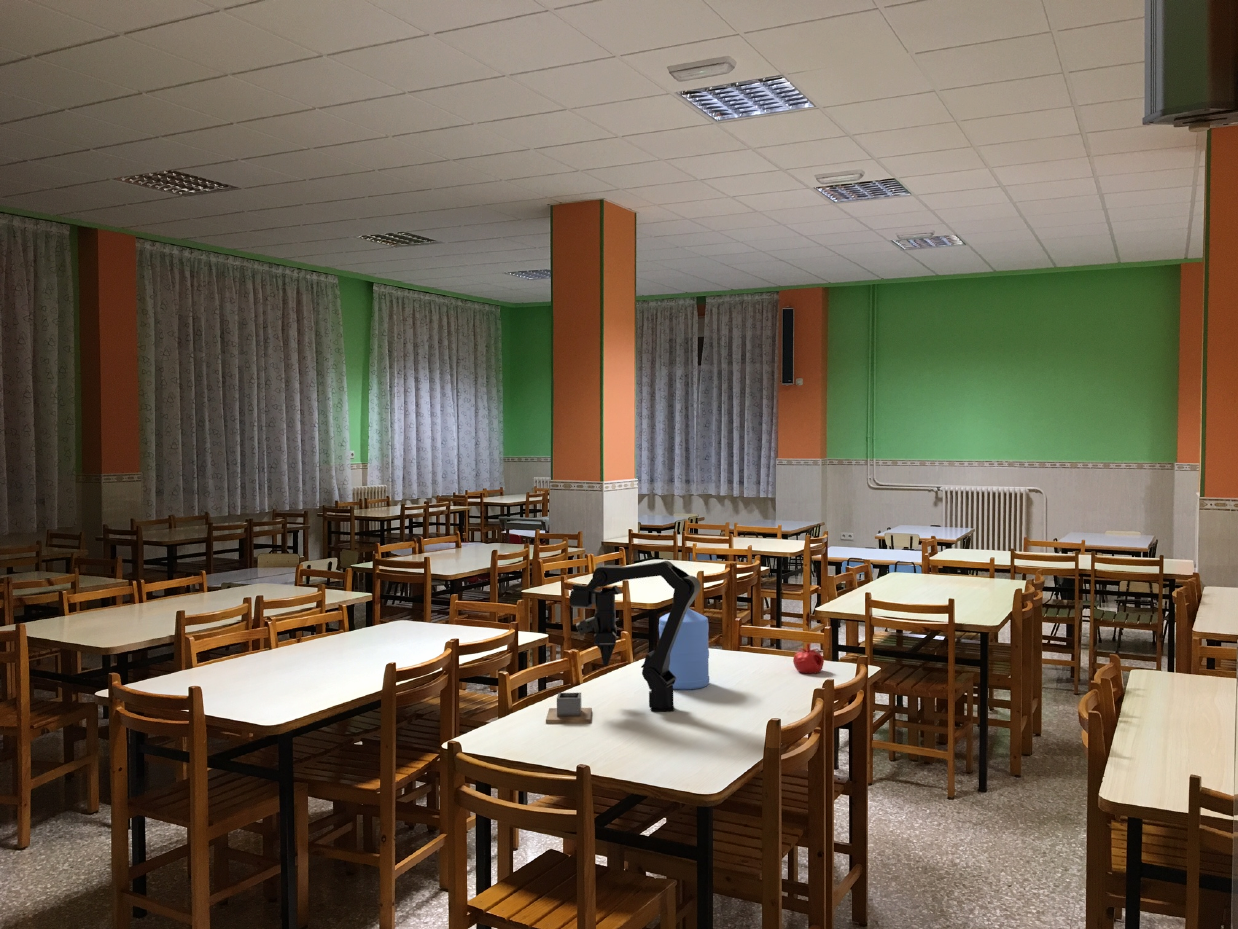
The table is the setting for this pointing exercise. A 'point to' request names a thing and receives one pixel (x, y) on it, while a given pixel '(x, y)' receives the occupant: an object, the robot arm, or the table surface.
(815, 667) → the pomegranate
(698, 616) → the water jug
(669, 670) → the robot arm
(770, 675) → the table surface
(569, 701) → the grey cube shelf
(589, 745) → the table surface
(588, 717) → the post block
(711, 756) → the table surface
